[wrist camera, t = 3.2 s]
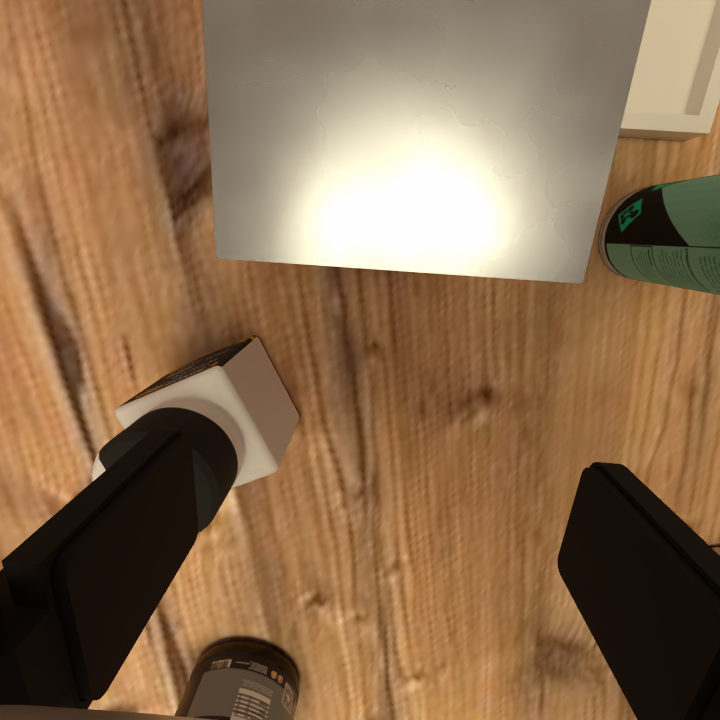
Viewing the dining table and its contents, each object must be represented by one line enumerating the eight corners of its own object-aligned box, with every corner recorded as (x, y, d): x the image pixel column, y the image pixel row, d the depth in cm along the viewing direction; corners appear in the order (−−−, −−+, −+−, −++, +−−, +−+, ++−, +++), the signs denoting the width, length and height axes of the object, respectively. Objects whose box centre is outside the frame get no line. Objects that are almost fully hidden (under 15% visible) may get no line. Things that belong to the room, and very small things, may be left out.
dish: (762, -128, 19) (800, -164, 17) (684, 141, 22) (709, 133, 21) (522, -139, 19) (536, -176, 17) (483, 128, 23) (492, 120, 21)
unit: (467, 135, 23) (673, -91, 7) (451, 251, 25) (582, 283, 9) (322, 126, 23) (196, -114, 7) (319, 242, 25) (215, 258, 9)
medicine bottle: (258, 332, 27) (171, 404, 16) (302, 417, 29) (253, 536, 18) (173, 369, 28) (35, 460, 17) (221, 448, 30) (126, 578, 19)
